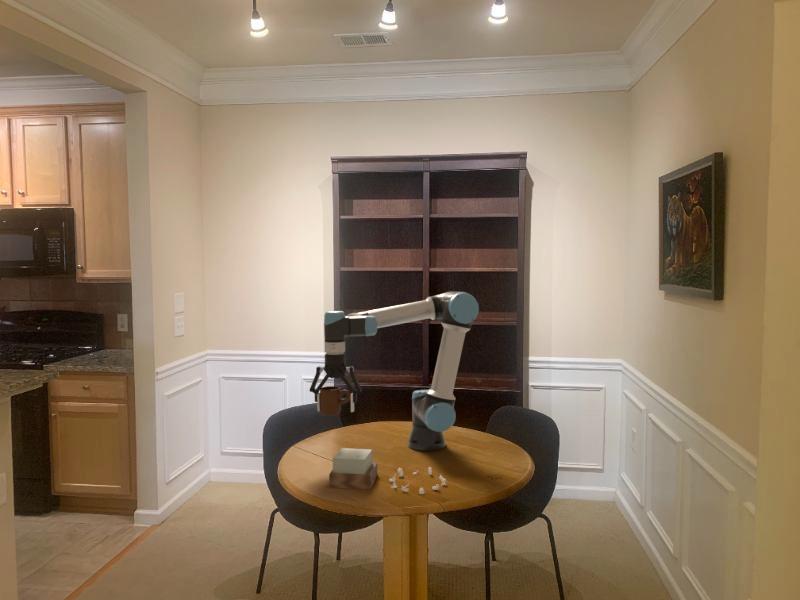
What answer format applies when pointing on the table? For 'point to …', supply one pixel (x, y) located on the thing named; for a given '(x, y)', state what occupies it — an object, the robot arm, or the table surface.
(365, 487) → the base block
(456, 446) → the table surface
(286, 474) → the table surface
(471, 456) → the table surface
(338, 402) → the mug
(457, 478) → the table surface
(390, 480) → the game piece set
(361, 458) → the top block
